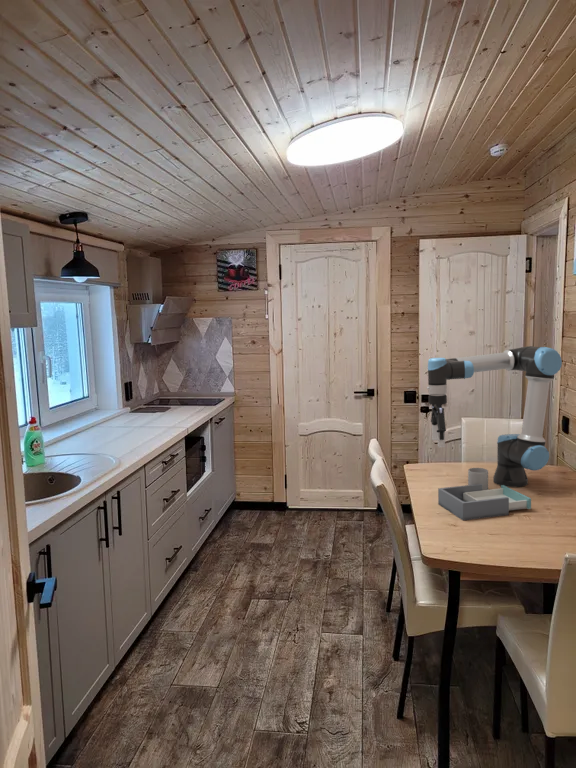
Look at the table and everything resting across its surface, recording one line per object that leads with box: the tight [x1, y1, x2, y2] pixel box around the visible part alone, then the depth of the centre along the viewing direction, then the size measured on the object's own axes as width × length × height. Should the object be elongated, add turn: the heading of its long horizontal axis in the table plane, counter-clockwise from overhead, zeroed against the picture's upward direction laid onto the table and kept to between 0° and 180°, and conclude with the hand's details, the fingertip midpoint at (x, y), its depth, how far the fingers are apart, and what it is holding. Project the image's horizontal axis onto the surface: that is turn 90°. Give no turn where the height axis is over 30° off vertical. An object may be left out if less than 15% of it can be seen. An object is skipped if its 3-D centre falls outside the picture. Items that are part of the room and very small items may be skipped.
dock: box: [437, 484, 510, 521], centre depth 228 cm, size 20×20×7 cm
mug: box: [467, 467, 489, 490], centre depth 248 cm, size 12×8×11 cm
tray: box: [463, 485, 532, 511], centre depth 230 cm, size 20×19×4 cm
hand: (438, 443), depth 238 cm, fingers open, 13 cm apart
